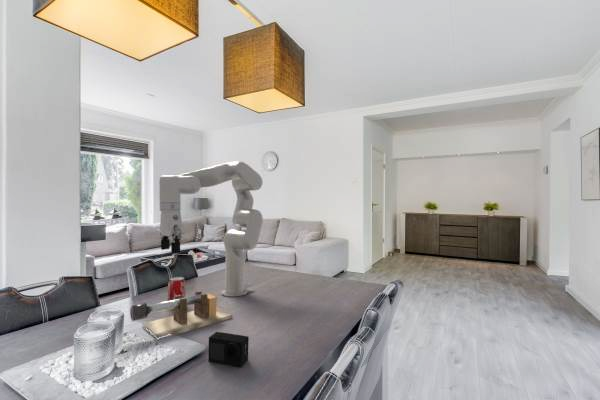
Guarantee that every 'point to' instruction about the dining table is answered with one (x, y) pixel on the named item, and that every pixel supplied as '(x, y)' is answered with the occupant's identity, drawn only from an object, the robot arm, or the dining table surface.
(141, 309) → the shaft
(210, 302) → the block
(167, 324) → the rig
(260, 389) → the dining table surface
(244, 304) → the dining table surface
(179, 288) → the soda can
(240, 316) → the dining table surface
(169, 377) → the dining table surface
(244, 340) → the digital camera
